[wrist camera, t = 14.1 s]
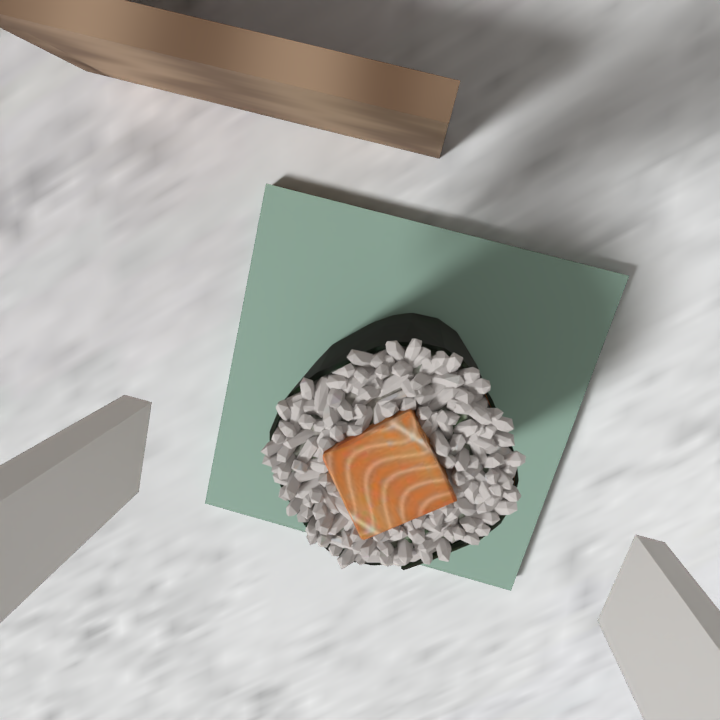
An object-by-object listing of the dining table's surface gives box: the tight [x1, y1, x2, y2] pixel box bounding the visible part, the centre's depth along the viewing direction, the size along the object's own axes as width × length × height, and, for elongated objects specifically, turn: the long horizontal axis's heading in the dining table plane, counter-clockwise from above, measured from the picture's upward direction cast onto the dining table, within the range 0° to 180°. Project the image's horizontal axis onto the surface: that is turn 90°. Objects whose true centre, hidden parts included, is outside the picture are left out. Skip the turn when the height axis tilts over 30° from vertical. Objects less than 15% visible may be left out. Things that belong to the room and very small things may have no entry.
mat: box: [205, 184, 629, 591], centre depth 25 cm, size 16×16×1 cm
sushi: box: [261, 313, 526, 570], centre depth 20 cm, size 8×8×8 cm
